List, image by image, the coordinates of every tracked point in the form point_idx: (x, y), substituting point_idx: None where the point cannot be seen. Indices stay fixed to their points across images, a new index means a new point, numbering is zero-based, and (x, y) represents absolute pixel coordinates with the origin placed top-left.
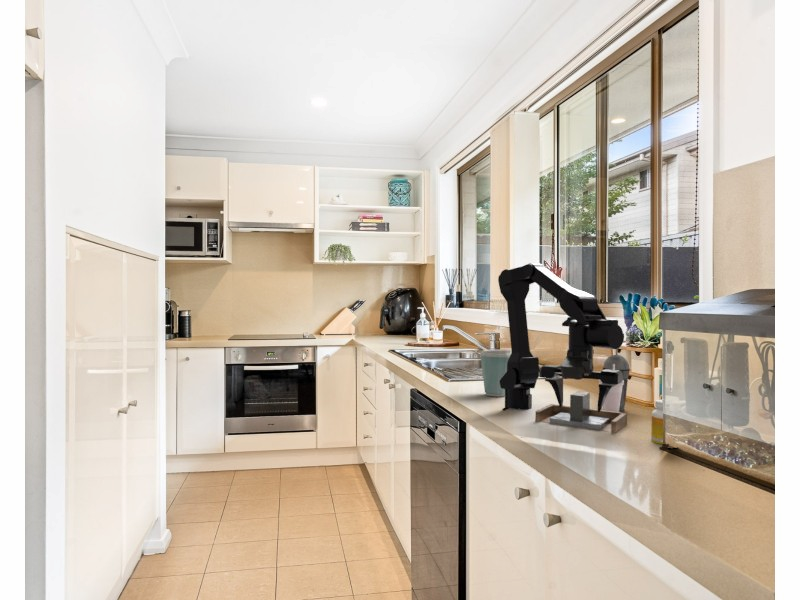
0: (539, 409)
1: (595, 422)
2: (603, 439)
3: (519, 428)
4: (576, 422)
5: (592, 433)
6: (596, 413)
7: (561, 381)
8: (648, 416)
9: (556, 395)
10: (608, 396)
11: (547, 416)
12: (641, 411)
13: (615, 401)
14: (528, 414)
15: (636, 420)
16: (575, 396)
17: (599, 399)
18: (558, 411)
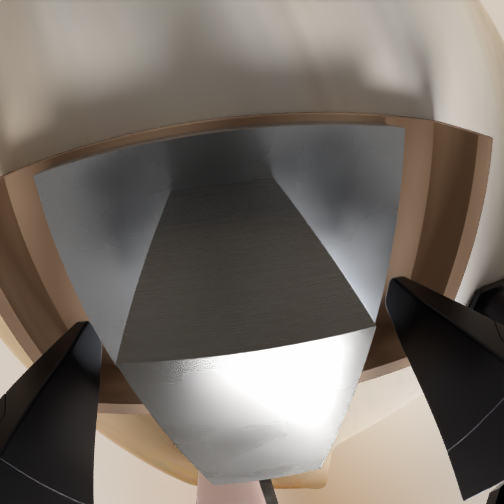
0: (482, 203)
1: (90, 225)
2: (17, 80)
3: (456, 25)
4: (197, 134)
5: None
6: None
7: (481, 467)
8: (153, 458)
9: (479, 316)
10: (225, 489)
11: (420, 252)
12: (192, 472)
13: (203, 478)
14: (464, 295)
15: (141, 433)
16: (266, 329)
17: (29, 393)
18: (385, 339)
